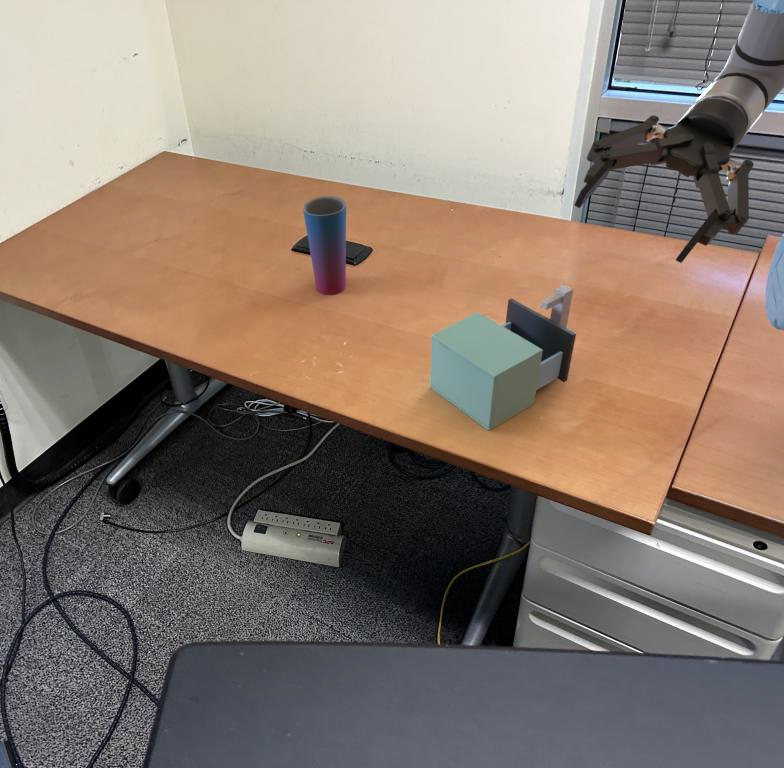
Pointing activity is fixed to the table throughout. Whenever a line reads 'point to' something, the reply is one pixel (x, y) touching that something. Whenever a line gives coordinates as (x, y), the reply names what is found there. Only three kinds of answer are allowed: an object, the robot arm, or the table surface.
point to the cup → (327, 242)
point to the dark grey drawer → (546, 333)
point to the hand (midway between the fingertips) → (629, 226)
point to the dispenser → (484, 369)
